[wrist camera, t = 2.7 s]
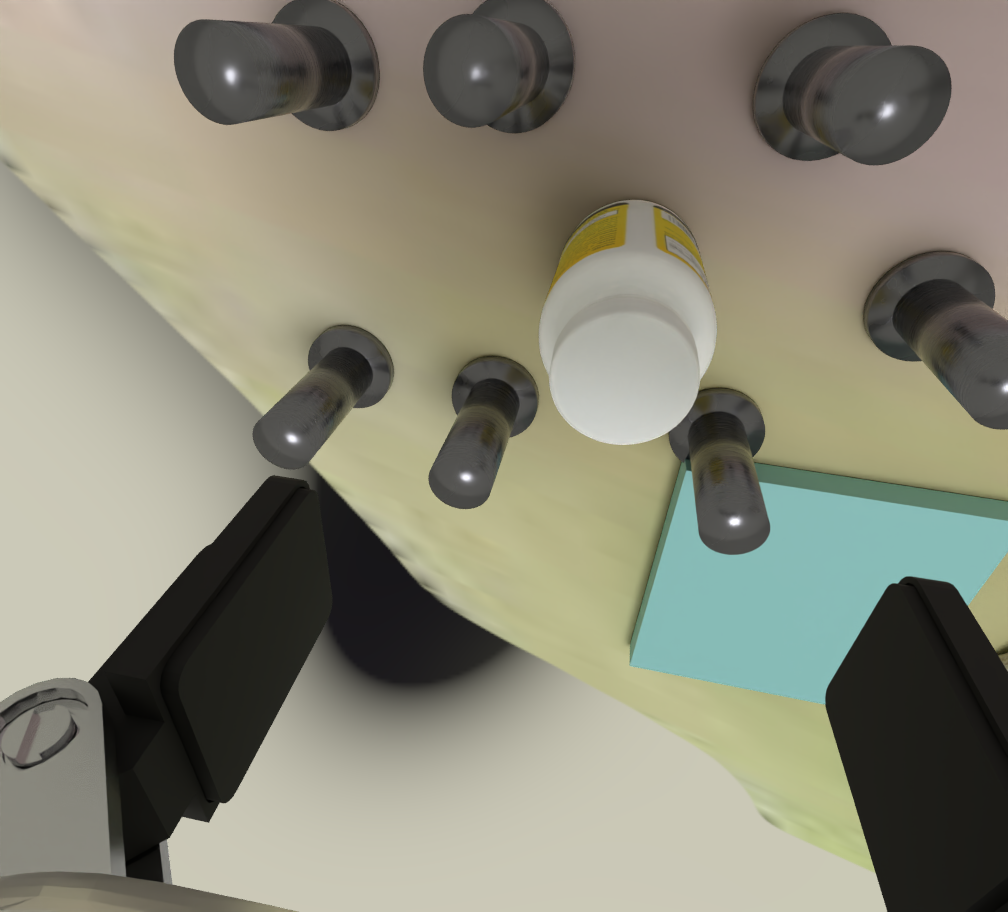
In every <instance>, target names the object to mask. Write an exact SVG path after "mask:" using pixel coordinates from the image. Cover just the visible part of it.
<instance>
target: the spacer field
mask: <svg viewBox="0 0 1008 912" xmlns="http://www.w3.org/2000/svg"><path fill="white" fill-rule="evenodd" d="M174 65H175V71H176V75H177V78H178V81H179V84H180V86H181V88H182V90H183V92H184V94H185V96H186V97H187V99H188V100H189V102H190V103H191V104H192V105H193V106H194V108H195V109H196V110H197V111H198V112H200V113H201V114H202V115H203V116H205V117H206V118H208V119H209V120H211V121H214V122H216V123H219V124H224V125H232V124H238V123H243V122H248V121H254V120H259V119H264V118H269V117H274V116H280V115H285V114H290V113H292V114H293V115H294V116H295V117H296V118H298V119H299V120H300V121H302V122H303V123H305V124H307V125H309V126H311V127H313V128H316V129H319V130H325V131H334V130H340V129H344V128H347V127H350V126H352V125H354V124H356V123H358V122H359V121H361V120H362V119H363V118H364V117H365V116H366V115H367V113H368V112H369V111H370V109H371V107H372V105H373V104H374V101H375V99H376V96H377V92H378V87H379V63H378V58H377V53H376V50H375V47H374V44H373V42H372V39H371V37H370V35H369V34H368V32H367V30H366V28H365V27H364V25H363V24H362V23H361V21H360V20H359V19H358V18H357V17H356V16H355V15H354V14H353V13H352V12H351V11H350V10H349V9H347V8H346V7H344V6H343V5H341V4H339V3H337V2H335V1H332V0H294V1H292V2H290V3H288V4H287V5H286V6H284V7H283V8H282V9H281V10H280V12H279V13H278V14H277V15H276V17H275V19H274V21H273V22H272V23H257V22H240V21H223V20H196V21H194V22H191V23H190V24H188V25H187V26H186V27H185V28H184V29H183V30H182V31H181V32H180V34H179V36H178V38H177V41H176V44H175V50H174ZM574 71H575V53H574V46H573V42H572V38H571V35H570V32H569V30H568V28H567V25H566V24H565V22H564V20H563V18H562V17H561V16H560V15H559V13H558V12H557V11H556V10H555V9H554V8H553V7H552V6H551V5H550V4H548V3H547V2H546V1H544V0H487V1H485V2H484V3H483V4H481V5H480V6H479V7H478V8H477V9H476V10H475V11H474V13H473V14H464V15H458V16H455V17H453V18H451V19H449V20H447V21H446V22H444V23H443V24H442V25H441V26H440V27H439V28H438V29H437V30H436V31H435V33H434V34H433V35H432V37H431V39H430V41H429V43H428V46H427V48H426V52H425V56H424V65H423V72H424V81H425V86H426V89H427V92H428V95H429V97H430V99H431V101H432V103H433V104H434V106H435V107H436V109H437V110H438V111H439V112H440V113H441V114H442V115H443V116H444V117H445V118H446V119H448V120H449V121H451V122H452V123H455V124H457V125H460V126H463V127H480V126H484V125H488V126H490V127H492V128H494V129H496V130H499V131H502V132H507V133H522V132H527V131H530V130H533V129H535V128H537V127H539V126H541V125H542V124H544V123H545V122H547V121H548V120H549V119H550V118H552V117H553V116H554V115H555V114H556V112H557V111H558V110H559V109H560V107H561V106H562V105H563V103H564V101H565V100H566V98H567V96H568V93H569V91H570V88H571V85H572V81H573V77H574ZM950 98H951V78H950V73H949V71H948V68H947V66H946V64H945V63H944V61H943V60H942V59H941V58H940V57H939V56H938V55H937V54H936V53H934V52H933V51H931V50H929V49H927V48H923V47H919V46H891V43H890V40H889V39H888V37H887V36H886V34H885V32H884V31H883V30H882V29H881V28H880V27H879V26H878V25H877V24H875V23H874V22H873V21H871V20H869V19H867V18H865V17H863V16H860V15H856V14H849V13H838V14H832V15H825V16H821V17H818V18H815V19H812V20H810V21H808V22H806V23H804V24H802V25H801V26H799V27H797V28H796V29H794V30H793V31H792V32H790V33H789V34H788V35H787V36H786V37H785V38H784V39H782V40H781V41H780V42H779V44H778V45H777V46H776V47H775V48H774V49H773V51H772V52H771V54H770V55H769V56H768V58H767V60H766V61H765V63H764V65H763V67H762V69H761V71H760V74H759V76H758V79H757V82H756V86H755V91H754V99H753V111H754V118H755V122H756V125H757V128H758V130H759V132H760V134H761V136H762V137H763V139H764V140H765V141H766V142H767V143H768V144H769V145H770V146H771V147H772V148H773V149H775V150H776V151H777V152H779V153H780V154H782V155H784V156H786V157H789V158H792V159H796V160H802V161H812V160H820V159H824V158H828V157H831V156H834V155H836V154H838V153H841V154H843V155H844V156H846V157H848V158H850V159H852V160H854V161H856V162H858V163H861V164H866V165H884V164H888V163H892V162H895V161H898V160H900V159H902V158H904V157H906V156H908V155H910V154H911V153H913V152H914V151H916V150H917V149H918V148H920V147H921V146H922V145H923V144H924V143H925V142H926V141H927V140H928V139H929V138H930V137H931V136H932V135H933V134H934V132H935V131H936V130H937V128H938V127H939V125H940V124H941V122H942V120H943V118H944V116H945V114H946V112H947V109H948V106H949V102H950ZM994 301H995V288H994V283H993V281H992V278H991V276H990V275H989V273H988V272H987V271H986V270H985V269H984V268H983V267H982V266H981V265H979V264H978V263H977V262H975V261H974V260H972V259H970V258H968V257H967V256H965V255H962V254H959V253H955V252H947V251H938V252H929V253H924V254H921V255H918V256H915V257H912V258H910V259H907V260H906V261H904V262H902V263H900V264H898V265H897V266H895V267H894V268H892V269H891V270H890V271H889V272H887V273H886V274H885V275H884V276H883V277H882V278H881V279H880V280H879V282H878V283H877V284H876V285H875V287H874V288H873V290H872V291H871V293H870V295H869V297H868V299H867V302H866V305H865V309H864V325H865V329H866V331H867V333H868V335H869V337H870V338H871V340H872V341H873V342H874V344H875V345H876V346H877V347H878V348H879V349H880V350H881V351H882V352H884V353H885V354H886V355H888V356H890V357H893V358H896V359H899V360H904V361H923V362H924V363H925V365H926V366H927V367H928V368H929V369H930V370H931V371H932V373H933V374H934V375H935V376H936V377H937V378H938V379H939V380H940V382H941V383H942V384H943V385H944V386H945V387H946V388H947V389H948V391H949V392H950V393H951V394H952V395H953V396H954V397H955V399H956V400H957V401H958V402H959V403H960V404H961V405H962V406H963V408H964V409H965V410H966V411H967V412H968V413H969V414H970V416H971V417H972V418H973V419H974V420H975V421H976V422H978V423H979V424H981V425H983V426H986V427H989V428H993V429H1008V320H1006V319H1005V318H1004V317H1002V316H1001V315H1000V314H998V313H997V312H996V311H994V310H993V306H994ZM308 365H309V370H310V371H309V372H308V373H307V374H306V375H305V376H304V377H303V378H302V379H301V380H300V381H299V382H298V383H297V384H296V385H295V386H294V387H293V388H292V389H291V390H290V391H289V392H288V393H287V394H286V395H285V396H284V397H283V398H282V399H281V400H280V401H279V402H277V403H276V404H275V405H274V406H273V407H272V408H271V409H270V410H269V411H268V412H267V413H266V414H265V415H264V416H263V417H262V418H261V419H260V420H259V421H258V422H257V423H256V425H255V426H254V429H253V440H254V443H255V446H256V448H257V449H258V451H259V452H260V453H261V455H262V456H263V457H264V458H266V459H267V460H268V461H269V462H271V463H272V464H274V465H276V466H278V467H281V468H284V469H299V468H302V467H304V466H305V465H307V464H308V463H309V461H310V460H311V459H312V458H313V456H314V455H315V454H316V453H317V451H318V450H319V449H320V448H321V446H322V445H323V444H324V443H325V442H326V440H327V439H328V438H329V437H330V435H331V434H332V433H333V432H334V430H335V429H336V428H337V427H338V425H339V424H340V423H341V422H342V420H343V419H344V418H345V417H346V415H347V414H348V413H349V412H350V410H351V409H352V408H365V407H369V406H372V405H374V404H376V403H377V402H379V401H380V400H381V399H382V398H383V397H384V395H385V394H386V393H387V391H388V390H389V389H390V387H391V385H392V382H393V377H394V369H393V363H392V360H391V357H390V355H389V353H388V351H387V350H386V348H385V347H384V346H383V344H382V343H381V342H380V341H379V340H378V339H377V338H376V337H374V336H373V335H372V334H370V333H369V332H367V331H365V330H363V329H360V328H357V327H354V326H346V325H343V326H336V327H332V328H330V329H328V330H326V331H325V332H324V333H322V334H321V335H320V336H319V337H318V338H317V339H316V340H315V341H314V342H313V344H312V346H311V348H310V350H309V355H308ZM452 402H453V407H454V409H455V412H456V414H457V415H458V416H457V418H456V420H455V422H454V424H453V426H452V428H451V430H450V432H449V434H448V436H447V438H446V440H445V442H444V444H443V446H442V448H441V450H440V452H439V454H438V456H437V458H436V460H435V462H434V464H433V466H432V468H431V470H430V472H429V485H430V487H431V490H432V491H433V493H434V494H435V495H436V497H437V498H438V499H440V500H441V501H442V502H444V503H445V504H447V505H449V506H452V507H455V508H459V509H471V508H475V507H478V506H480V505H482V504H483V503H484V502H485V501H486V500H487V499H488V497H489V495H490V492H491V489H492V486H493V484H494V481H495V478H496V475H497V472H498V469H499V466H500V463H501V460H502V457H503V454H504V451H505V448H506V446H507V443H508V440H509V437H513V436H516V435H518V434H520V433H521V432H523V431H524V430H526V429H527V428H528V427H529V425H530V424H531V423H532V421H533V419H534V417H535V414H536V411H537V408H538V403H539V393H538V389H537V386H536V383H535V381H534V379H533V378H532V376H531V375H530V374H529V372H528V371H527V370H526V369H525V368H523V367H522V366H521V365H519V364H518V363H516V362H514V361H512V360H510V359H507V358H503V357H497V356H487V357H482V358H479V359H476V360H474V361H472V362H470V363H469V364H468V365H466V366H465V367H464V368H463V369H462V371H461V372H460V374H459V375H458V377H457V379H456V381H455V383H454V386H453V389H452ZM764 437H765V425H764V421H763V418H762V414H761V412H760V410H759V408H758V406H757V405H756V404H755V402H754V401H753V400H752V399H750V398H749V397H748V396H746V395H745V394H743V393H741V392H738V391H735V390H732V389H726V388H712V389H707V390H703V391H700V392H698V394H697V397H696V400H695V402H694V404H693V406H692V408H691V409H690V411H689V412H688V414H687V415H686V416H685V418H684V419H683V420H682V421H681V422H680V423H679V424H678V425H677V426H676V427H674V428H673V429H672V430H670V431H669V440H670V445H671V448H672V450H673V452H674V453H675V455H676V456H677V457H678V458H679V460H681V461H682V462H683V463H684V462H685V459H687V460H690V461H691V470H692V479H693V488H694V496H695V505H696V514H697V523H698V532H699V536H700V539H701V540H702V542H703V543H704V544H705V545H706V546H707V547H708V548H710V549H711V550H713V551H715V552H718V553H721V554H727V555H739V554H745V553H748V552H751V551H753V550H755V549H757V548H759V547H760V546H761V545H762V544H763V543H764V542H765V541H766V540H767V538H768V536H769V534H770V522H769V518H768V514H767V511H766V507H765V503H764V499H763V495H762V492H761V488H760V484H759V480H758V477H757V473H756V469H755V465H754V461H753V458H752V457H753V456H754V455H755V454H756V453H757V452H758V451H759V449H760V447H761V445H762V443H763V440H764Z"/></svg>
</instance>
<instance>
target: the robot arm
mask: <svg viewBox="0 0 1008 912" xmlns="http://www.w3.org/2000/svg"><path fill="white" fill-rule="evenodd" d="M331 607H332V591H331V584H330V577H329V570H328V562H327V555H326V549H325V541H324V534H323V527H322V520H321V513H320V505H319V498H318V494H317V492H316V491H314V490H310V488H309V485H308V483H307V482H306V481H304V480H299V479H294V478H287V477H280V476H275V475H274V476H270V477H269V478H268V479H267V480H266V481H265V482H264V483H263V484H262V485H261V487H260V488H259V489H258V490H257V491H256V493H255V494H254V495H253V496H252V497H251V498H250V499H249V501H248V502H247V503H246V504H245V505H244V507H243V508H242V509H241V510H240V511H239V512H238V514H237V515H236V516H235V517H234V518H233V520H232V521H231V522H230V523H229V524H228V525H227V527H226V528H225V529H224V530H223V531H222V532H221V534H220V535H219V536H218V537H217V538H216V539H215V541H214V542H213V543H212V544H210V545H208V546H206V547H205V548H204V549H203V550H202V551H201V552H199V554H198V555H197V556H196V557H195V558H194V559H193V561H192V562H191V563H190V564H189V565H188V566H187V568H186V569H185V570H184V571H183V572H182V573H181V574H180V576H179V577H178V578H177V579H176V580H175V582H174V583H173V584H172V585H171V586H170V587H169V588H168V590H167V591H166V592H165V593H164V594H163V596H162V597H161V598H160V599H159V600H158V601H157V602H156V604H155V605H154V606H153V607H152V608H151V609H150V611H149V612H148V613H147V614H146V615H145V616H144V618H143V619H142V620H141V621H140V622H139V624H138V625H137V626H136V627H135V628H134V629H133V630H132V632H131V633H130V634H129V635H128V636H127V637H126V639H125V640H124V641H123V642H122V643H121V644H120V646H119V647H118V648H117V649H116V650H115V651H114V652H113V654H112V655H111V656H110V657H109V658H108V659H107V661H106V662H105V663H104V664H103V665H102V667H101V668H100V669H99V670H98V671H97V672H96V674H95V675H94V676H93V677H92V678H91V679H90V680H89V682H86V681H83V680H79V679H76V678H56V679H51V680H48V681H44V682H39V683H36V684H33V685H31V686H29V687H26V688H24V689H22V690H19V691H17V692H15V693H14V694H13V695H11V696H9V697H8V698H6V699H5V700H3V701H2V702H0V912H297V911H293V910H288V909H283V908H280V907H275V906H271V905H266V904H262V903H256V902H252V901H247V900H243V899H238V898H233V897H228V896H223V895H219V894H214V893H209V892H204V891H200V890H195V889H190V888H185V887H181V886H176V885H172V878H171V870H170V861H169V854H168V845H167V839H168V838H170V836H171V834H172V833H173V831H174V829H175V827H176V826H177V824H178V822H179V821H180V819H181V817H186V818H191V819H195V820H200V821H204V822H209V821H210V819H211V817H212V816H213V814H214V812H215V810H216V808H217V806H218V804H219V803H227V802H228V801H229V800H230V799H231V798H232V797H233V796H234V794H235V792H236V790H237V789H238V787H239V785H240V783H241V782H242V780H243V777H244V776H245V774H246V772H247V770H248V768H249V766H250V764H251V763H252V761H253V759H254V757H255V755H256V753H257V751H258V749H259V748H260V745H261V744H262V742H263V740H264V738H265V736H266V734H267V732H268V730H269V729H270V727H271V725H272V723H273V721H274V719H275V717H276V715H277V714H278V712H279V710H280V708H281V706H282V704H283V702H284V700H285V699H286V697H287V695H288V693H289V691H290V689H291V687H292V685H293V683H294V682H295V680H296V678H297V676H298V674H299V672H300V670H301V668H302V666H303V665H304V663H305V661H306V659H307V657H308V655H309V653H310V651H311V650H312V648H313V646H314V644H315V642H316V640H317V638H318V636H319V635H320V633H321V631H322V629H323V627H324V625H325V623H326V621H327V619H328V617H329V614H330V612H331ZM825 705H826V710H827V714H828V717H829V720H830V724H831V727H832V730H833V733H834V737H835V740H836V743H837V747H838V750H839V753H840V757H841V760H842V763H843V766H844V770H845V773H846V776H847V780H848V783H849V786H850V790H851V793H852V796H853V799H854V803H855V806H856V809H857V813H858V816H859V819H860V823H861V826H862V829H863V832H864V836H865V839H866V842H867V846H868V849H869V852H870V856H871V859H872V862H873V865H874V869H875V872H876V875H877V878H878V882H879V885H880V888H881V892H882V895H883V898H884V901H885V905H886V908H887V912H1008V671H1007V669H1006V668H1005V666H1004V664H1003V663H1002V661H1001V660H1000V658H999V656H998V655H997V653H996V651H995V650H994V648H993V647H992V645H991V643H990V642H989V640H988V638H987V637H986V635H985V634H984V632H983V630H982V629H981V627H980V625H979V624H978V622H977V621H976V619H975V617H974V616H973V614H972V612H971V611H970V609H969V608H968V606H967V604H966V603H965V601H964V599H963V598H962V596H961V595H960V593H959V591H958V590H957V589H956V588H955V586H954V585H953V584H951V583H949V582H944V581H938V580H932V579H925V578H919V577H913V576H906V577H904V578H902V579H901V580H900V582H899V583H898V584H897V583H892V584H890V585H889V586H888V587H887V588H886V589H885V591H884V593H883V594H882V596H881V598H880V600H879V601H878V603H877V605H876V606H875V608H874V610H873V611H872V613H871V615H870V616H869V618H868V620H867V621H866V623H865V625H864V626H863V628H862V630H861V631H860V633H859V635H858V636H857V638H856V640H855V641H854V643H853V645H852V646H851V648H850V650H849V651H848V653H847V655H846V656H845V658H844V660H843V661H842V663H841V665H840V666H839V668H838V670H837V671H836V673H835V675H834V677H833V678H832V680H831V682H830V683H829V685H828V687H827V690H826V695H825Z"/></svg>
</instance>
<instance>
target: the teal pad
mask: <svg viewBox="0 0 1008 912" xmlns="http://www.w3.org/2000/svg"><path fill="white" fill-rule="evenodd" d="M754 465H755V469H756V473H757V477H758V480H759V484H760V488H761V492H762V495H763V499H764V503H765V507H766V511H767V514H768V518H769V522H770V534H769V536H768V538H767V540H766V541H765V542H764V543H763V544H762V545H761V546H760V547H759V548H757V549H755V550H753V551H751V552H748V553H745V554H739V555H727V554H721V553H718V552H715V551H713V550H711V549H710V548H708V547H707V546H706V545H705V544H704V543H703V542H702V540H701V539H700V536H699V532H698V523H697V514H696V505H695V496H694V488H693V479H692V470H691V461H690V460H687V459H685V462H684V463H683V462H681V466H680V470H679V473H678V477H677V480H676V484H675V487H674V491H673V494H672V498H671V502H670V505H669V509H668V512H667V516H666V519H665V523H664V526H663V530H662V533H661V537H660V541H659V544H658V548H657V551H656V555H655V558H654V562H653V565H652V569H651V572H650V576H649V580H648V583H647V587H646V590H645V594H644V597H643V601H642V604H641V608H640V612H639V615H638V619H637V622H636V626H635V629H634V633H633V636H632V640H631V643H630V666H633V667H638V668H643V669H648V670H653V671H658V672H663V673H668V674H673V675H678V676H683V677H688V678H693V679H699V680H704V681H709V682H714V683H719V684H724V685H729V686H734V687H739V688H744V689H749V690H754V691H759V692H764V693H769V694H774V695H780V696H785V697H790V698H795V699H800V700H805V701H810V702H815V703H820V704H825V695H826V690H827V687H828V685H829V683H830V682H831V680H832V678H833V677H834V675H835V673H836V671H837V670H838V668H839V666H840V665H841V663H842V661H843V660H844V658H845V656H846V655H847V653H848V651H849V650H850V648H851V646H852V645H853V643H854V641H855V640H856V638H857V636H858V635H859V633H860V631H861V630H862V628H863V626H864V625H865V623H866V621H867V620H868V618H869V616H870V615H871V613H872V611H873V610H874V608H875V606H876V605H877V603H878V601H879V600H880V598H881V596H882V594H883V593H884V591H885V589H886V588H887V587H888V586H889V585H890V584H892V583H897V584H898V583H899V582H900V580H901V579H902V578H904V577H906V576H913V577H919V578H925V579H932V580H938V581H944V582H949V583H951V584H953V585H954V586H955V588H956V589H957V590H958V591H959V593H960V595H961V596H962V598H963V599H964V601H965V603H966V604H967V606H968V605H969V603H970V602H971V601H972V599H973V598H974V597H975V595H976V594H977V593H978V591H979V590H980V589H981V587H982V586H983V584H984V583H985V582H986V580H987V579H988V578H989V576H990V575H991V574H992V572H993V571H994V570H995V568H996V567H997V566H998V564H999V563H1000V561H1001V560H1002V559H1003V557H1004V556H1005V555H1006V553H1007V552H1008V502H1007V501H1000V500H994V499H987V498H981V497H974V496H968V495H961V494H955V493H948V492H942V491H935V490H929V489H922V488H916V487H909V486H903V485H896V484H890V483H883V482H877V481H870V480H864V479H857V478H851V477H844V476H838V475H831V474H825V473H818V472H812V471H805V470H799V469H792V468H786V467H779V466H772V465H766V464H759V463H754Z"/></svg>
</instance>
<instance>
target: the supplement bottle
mask: <svg viewBox="0 0 1008 912" xmlns="http://www.w3.org/2000/svg"><path fill="white" fill-rule="evenodd" d="M716 336H717V322H716V313H715V308H714V303H713V300H712V296H711V293H710V290H709V285H708V282H707V278H706V275H705V271H704V267H703V264H702V260H701V256H700V252H699V249H698V246H697V244H696V241H695V239H694V237H693V235H692V233H691V231H690V230H689V228H688V227H687V226H686V224H685V223H684V222H683V221H682V220H681V219H680V218H679V217H678V216H677V215H676V214H675V213H673V212H672V211H670V210H669V209H667V208H665V207H663V206H661V205H659V204H656V203H653V202H649V201H644V200H625V201H618V202H614V203H611V204H608V205H606V206H604V207H601V208H599V209H598V210H596V211H594V212H593V213H591V214H590V215H589V216H587V217H586V218H585V219H584V220H583V221H582V222H581V223H580V224H579V225H578V226H577V227H576V229H575V230H574V231H573V233H572V234H571V236H570V237H569V239H568V241H567V243H566V245H565V247H564V249H563V252H562V255H561V258H560V261H559V264H558V268H557V271H556V273H555V276H554V278H553V281H552V284H551V287H550V290H549V293H548V295H547V298H546V300H545V303H544V306H543V309H542V314H541V318H540V325H539V347H540V354H541V358H542V361H543V364H544V366H545V368H546V371H547V373H548V375H549V386H550V391H551V395H552V398H553V401H554V403H555V406H556V408H557V409H558V411H559V413H560V414H561V415H562V417H563V418H564V419H565V420H566V421H567V422H568V423H569V424H570V425H571V426H572V427H573V428H574V429H576V430H577V431H579V432H580V433H582V434H584V435H585V436H587V437H589V438H592V439H594V440H597V441H600V442H604V443H609V444H616V445H630V444H638V443H643V442H647V441H650V440H653V439H655V438H658V437H660V436H662V435H664V434H666V433H667V432H669V431H670V430H672V429H673V428H674V427H676V426H677V425H678V424H679V423H680V422H681V421H682V420H683V419H684V418H685V416H686V415H687V414H688V412H689V411H690V409H691V408H692V406H693V404H694V402H695V400H696V397H697V394H698V390H699V385H700V380H701V378H702V377H703V375H704V374H705V372H706V370H707V368H708V366H709V364H710V362H711V360H712V357H713V353H714V349H715V344H716Z"/></svg>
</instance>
